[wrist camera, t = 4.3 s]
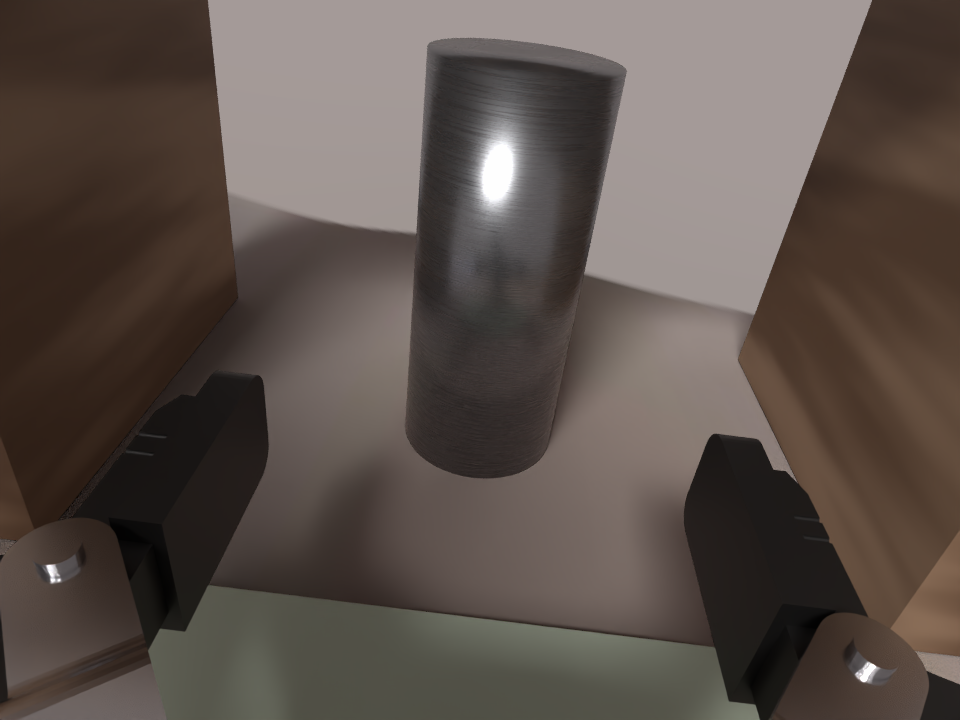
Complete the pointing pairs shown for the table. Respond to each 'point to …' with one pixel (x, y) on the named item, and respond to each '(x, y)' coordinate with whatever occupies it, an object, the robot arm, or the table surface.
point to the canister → (502, 244)
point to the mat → (419, 667)
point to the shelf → (213, 289)
